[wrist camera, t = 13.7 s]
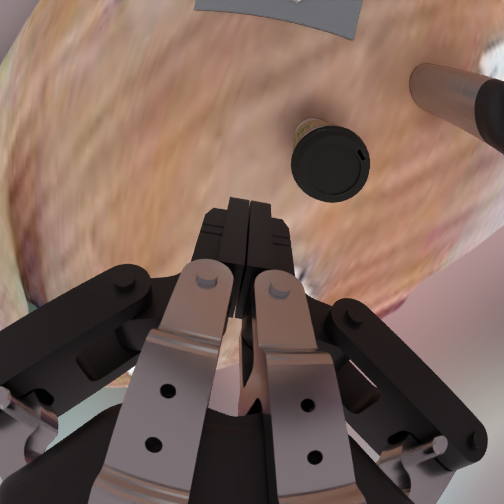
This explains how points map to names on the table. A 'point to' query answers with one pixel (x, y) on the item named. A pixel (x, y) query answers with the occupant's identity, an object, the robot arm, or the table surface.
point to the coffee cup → (329, 161)
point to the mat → (296, 12)
